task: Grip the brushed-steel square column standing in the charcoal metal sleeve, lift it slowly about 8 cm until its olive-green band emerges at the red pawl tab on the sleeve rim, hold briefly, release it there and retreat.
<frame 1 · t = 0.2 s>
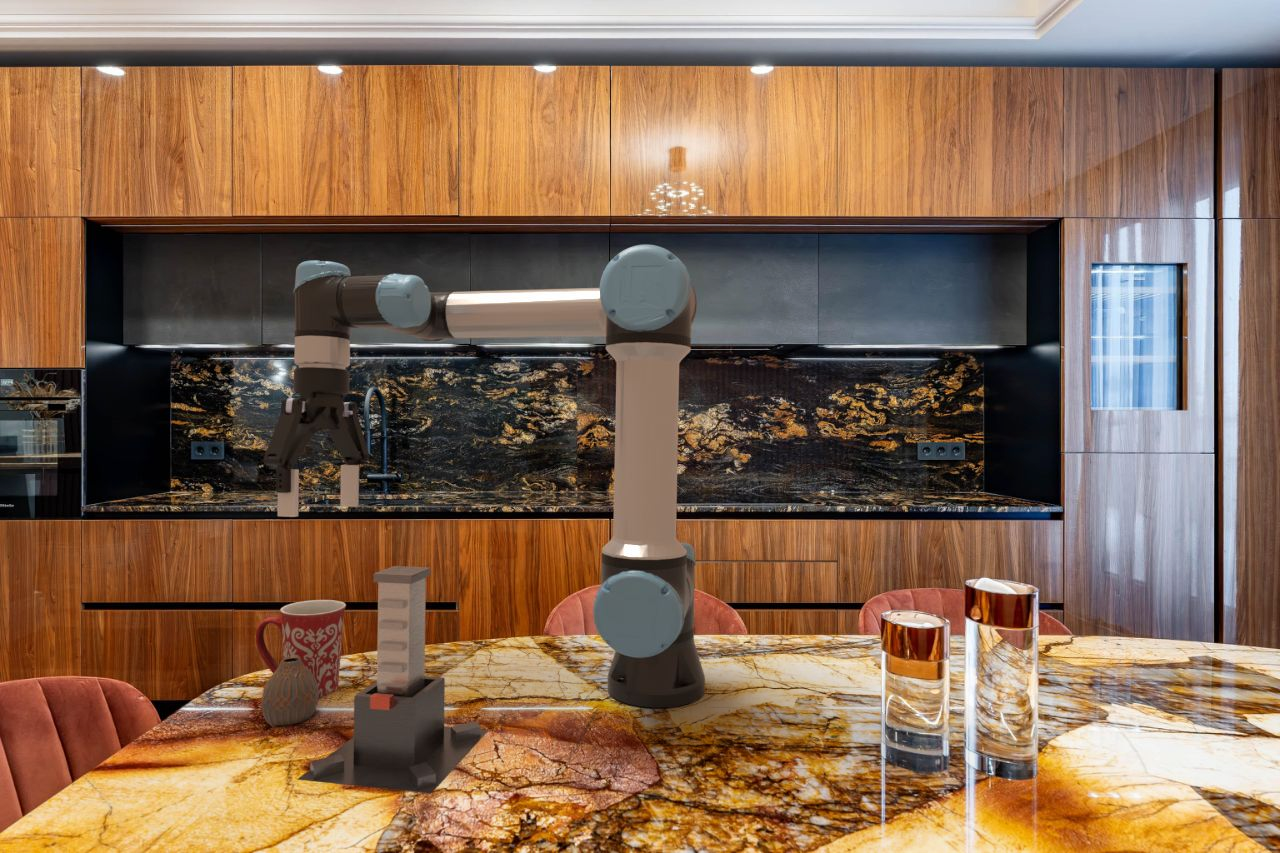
hand: (320, 511, 102), 28 cm above the table, fingers open, 13 cm apart
stand base: (400, 761, 83), on the table
vase: (290, 725, 94), on the table
column: (401, 661, 83), point 12 cm above the table, slide at 0.0 cm
mug: (300, 697, 103), on the table
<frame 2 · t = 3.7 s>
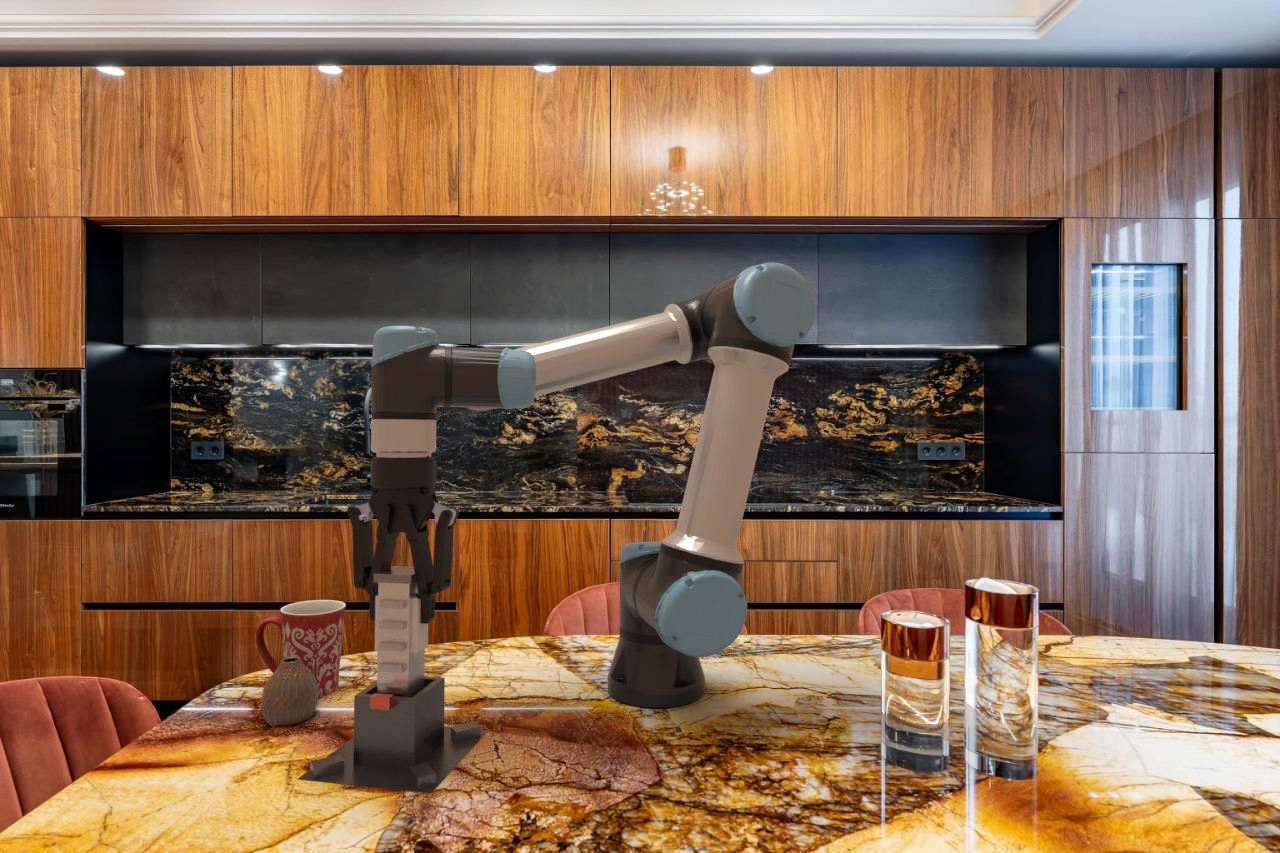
hand: (401, 647, 84), 14 cm above the table, fingers closed on column, 4 cm apart
column: (401, 661, 83), point 12 cm above the table, slide at 0.0 cm, touching gripper, stand base
everything else where it was.
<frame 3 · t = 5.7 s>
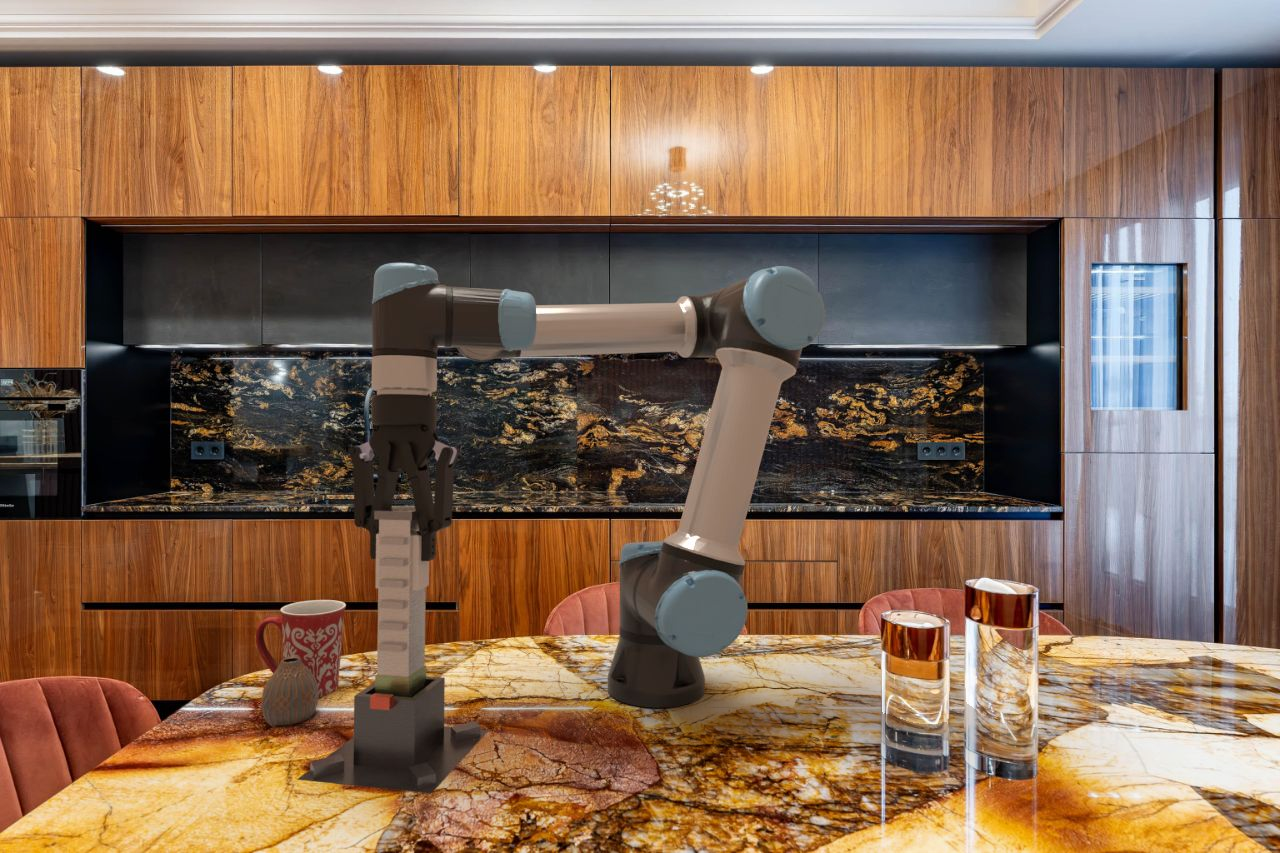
hand: (402, 586, 84), 21 cm above the table, fingers closed on column, 4 cm apart
column: (401, 600, 84), point 19 cm above the table, slide at 7.4 cm, touching gripper
everything else where it was.
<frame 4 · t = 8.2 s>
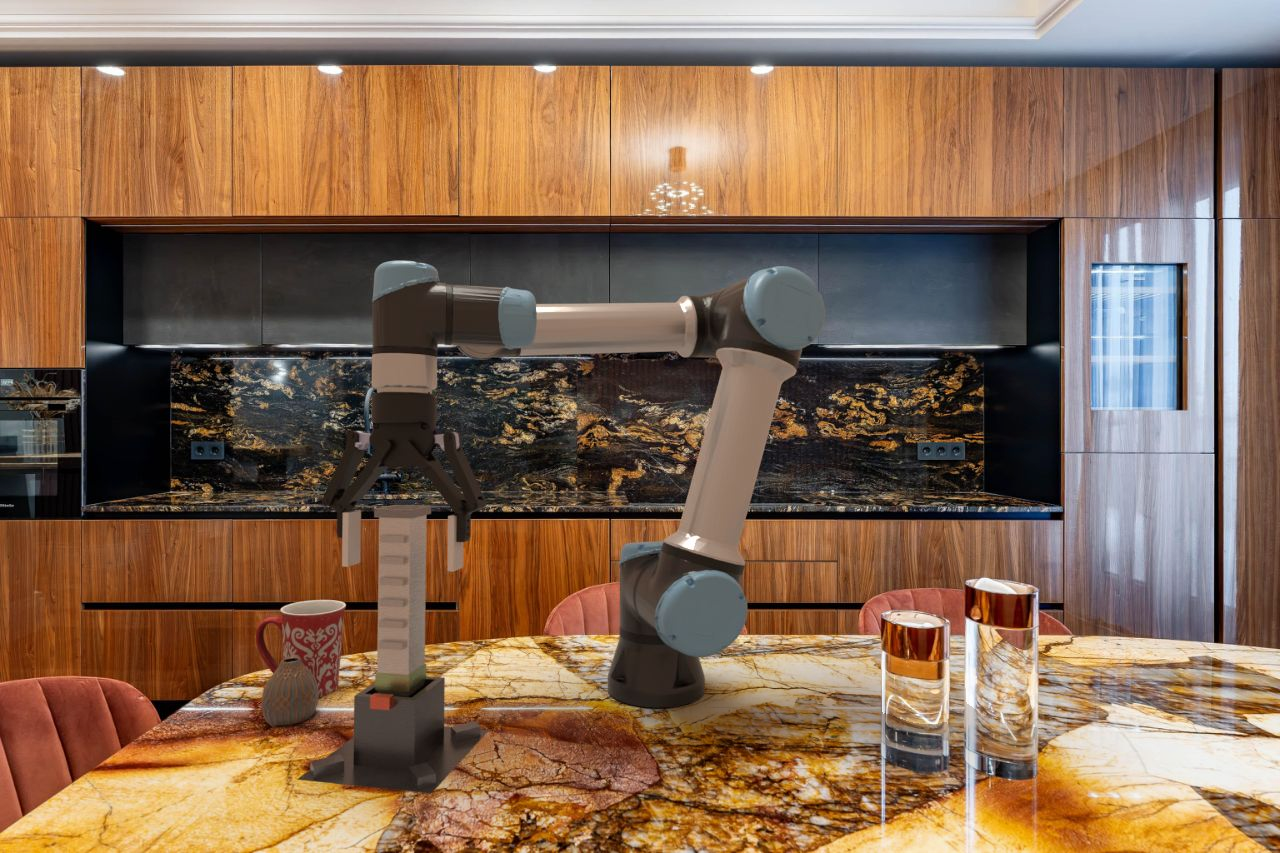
hand: (402, 567, 84), 23 cm above the table, fingers open, 13 cm apart
column: (401, 598, 84), point 20 cm above the table, slide at 7.7 cm
everything else where it was.
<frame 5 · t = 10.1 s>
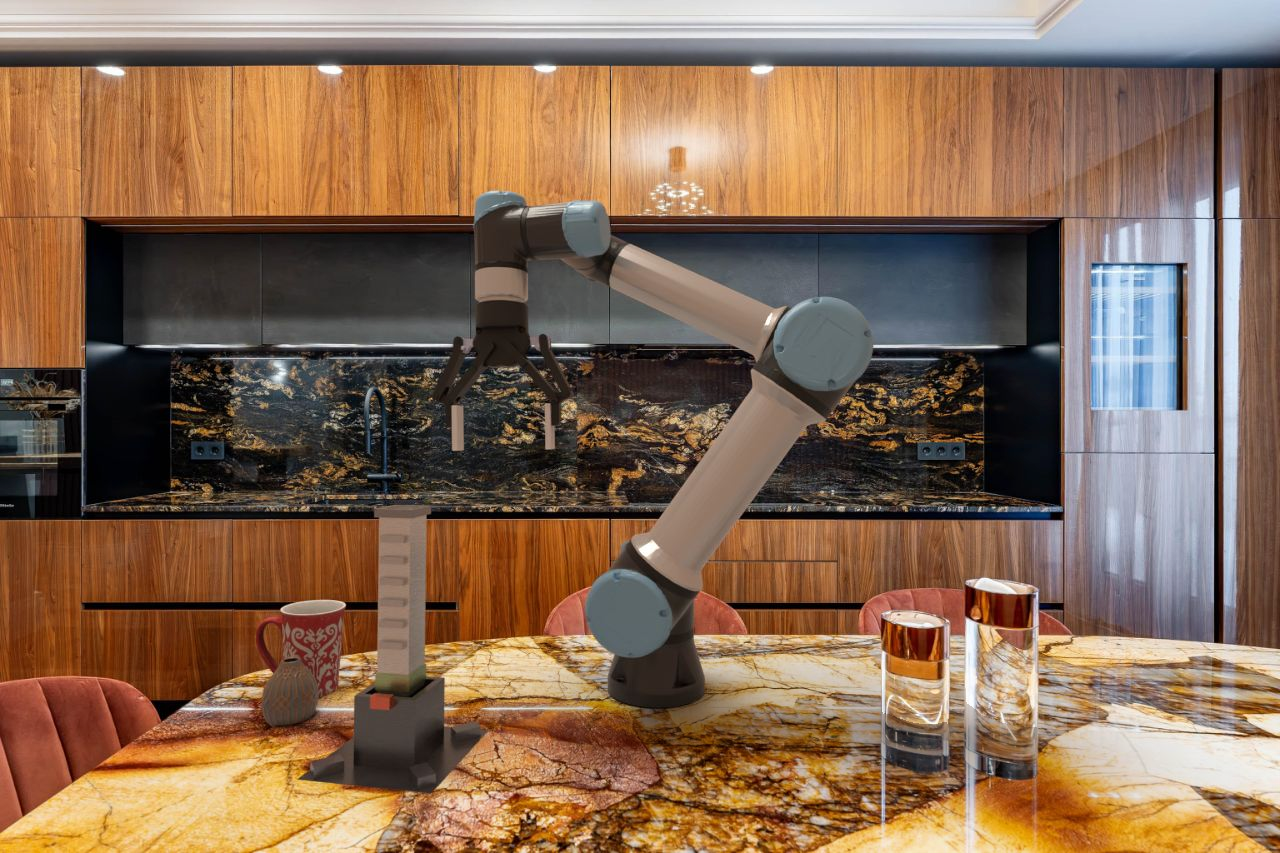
hand: (503, 450, 100), 37 cm above the table, fingers open, 13 cm apart
nothing on the table moved.
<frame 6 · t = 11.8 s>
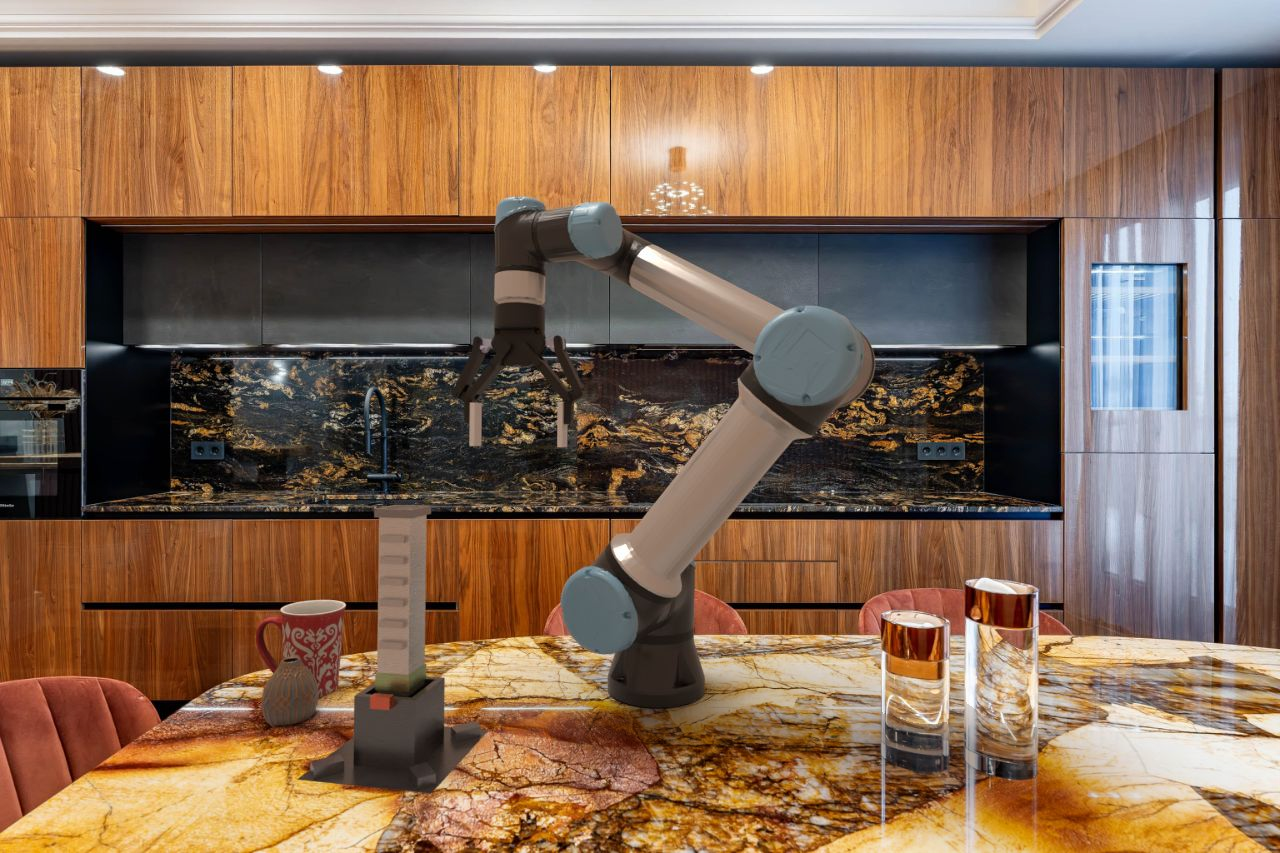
hand: (518, 446, 103), 38 cm above the table, fingers open, 13 cm apart
nothing on the table moved.
at the end: column slide at 7.7 cm; the gripper is holding nothing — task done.
